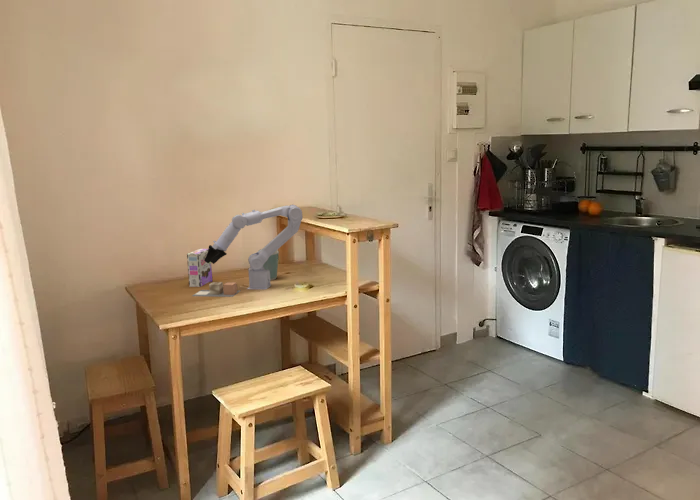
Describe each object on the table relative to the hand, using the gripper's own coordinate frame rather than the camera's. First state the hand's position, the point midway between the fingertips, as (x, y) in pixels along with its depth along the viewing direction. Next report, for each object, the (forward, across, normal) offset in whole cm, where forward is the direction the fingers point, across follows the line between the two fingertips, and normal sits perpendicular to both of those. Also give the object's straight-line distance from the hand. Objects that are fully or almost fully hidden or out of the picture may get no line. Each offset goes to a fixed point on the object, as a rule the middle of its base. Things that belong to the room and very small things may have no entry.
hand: (209, 262), depth 264 cm
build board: (+9, +1, +12) cm, 15 cm away
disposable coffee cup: (-7, -28, +21) cm, 36 cm away
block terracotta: (+5, +1, +17) cm, 17 cm away
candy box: (+14, -18, -2) cm, 23 cm away
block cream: (+9, +1, +11) cm, 14 cm away
